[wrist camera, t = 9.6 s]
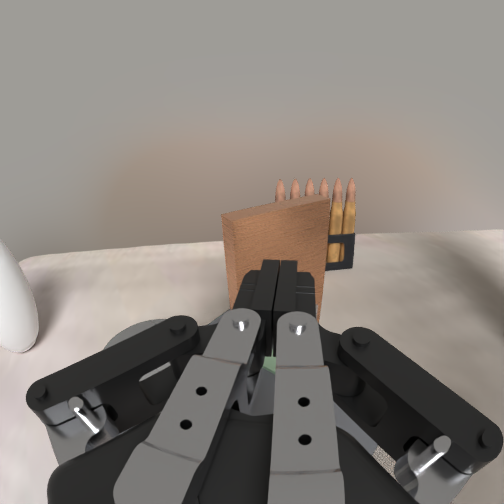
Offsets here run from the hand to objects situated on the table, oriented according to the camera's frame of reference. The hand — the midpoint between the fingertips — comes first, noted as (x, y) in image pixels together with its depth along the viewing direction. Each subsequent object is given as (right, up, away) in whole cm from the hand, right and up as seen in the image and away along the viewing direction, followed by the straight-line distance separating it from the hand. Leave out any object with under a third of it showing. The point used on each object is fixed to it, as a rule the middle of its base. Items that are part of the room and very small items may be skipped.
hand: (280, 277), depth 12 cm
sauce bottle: (-27, -10, +10) cm, 30 cm away
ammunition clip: (+7, -1, +24) cm, 25 cm away
